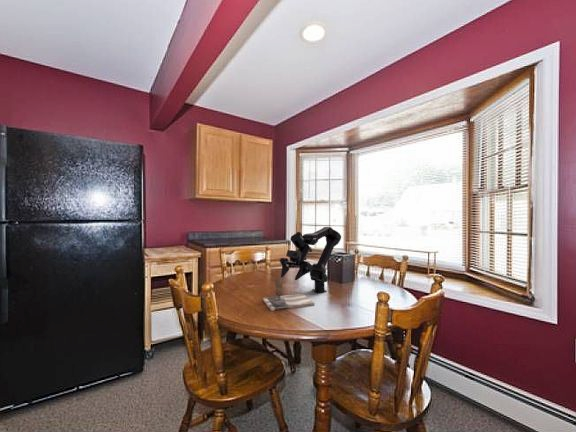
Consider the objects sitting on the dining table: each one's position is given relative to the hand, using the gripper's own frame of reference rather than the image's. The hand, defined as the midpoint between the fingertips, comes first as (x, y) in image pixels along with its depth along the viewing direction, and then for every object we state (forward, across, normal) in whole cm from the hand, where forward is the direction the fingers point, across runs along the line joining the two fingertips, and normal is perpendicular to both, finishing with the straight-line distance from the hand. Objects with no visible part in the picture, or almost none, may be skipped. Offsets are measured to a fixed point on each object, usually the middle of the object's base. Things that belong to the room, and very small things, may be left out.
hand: (288, 278), depth 141 cm
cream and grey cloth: (+9, -1, +9) cm, 13 cm away
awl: (+12, 0, +3) cm, 13 cm away
